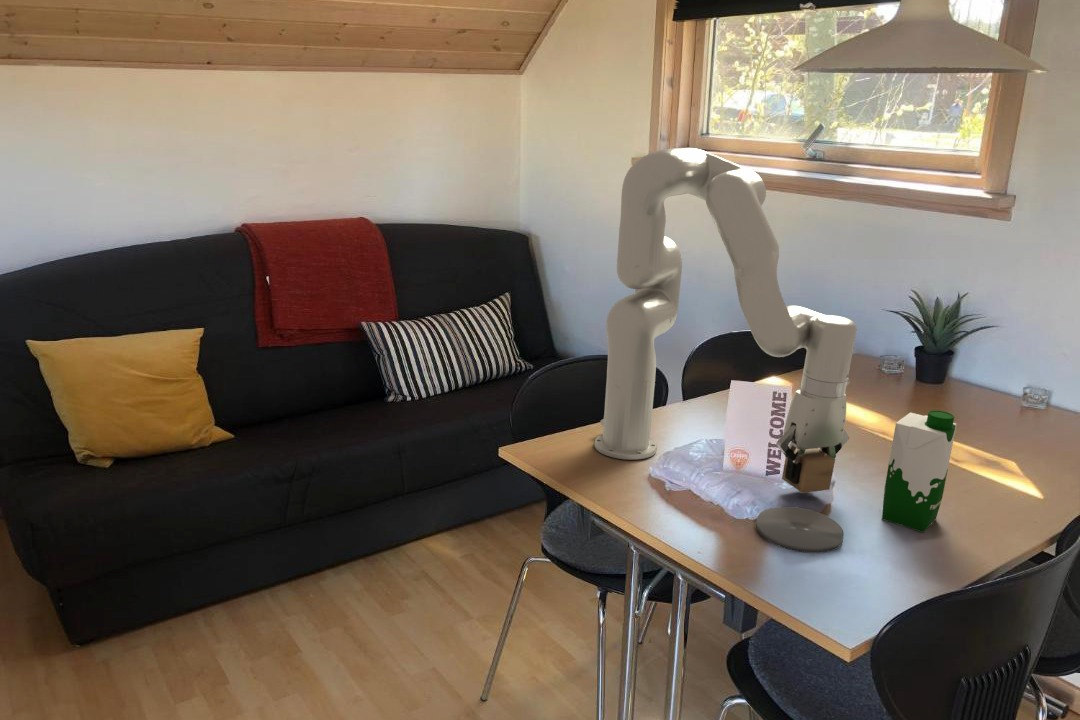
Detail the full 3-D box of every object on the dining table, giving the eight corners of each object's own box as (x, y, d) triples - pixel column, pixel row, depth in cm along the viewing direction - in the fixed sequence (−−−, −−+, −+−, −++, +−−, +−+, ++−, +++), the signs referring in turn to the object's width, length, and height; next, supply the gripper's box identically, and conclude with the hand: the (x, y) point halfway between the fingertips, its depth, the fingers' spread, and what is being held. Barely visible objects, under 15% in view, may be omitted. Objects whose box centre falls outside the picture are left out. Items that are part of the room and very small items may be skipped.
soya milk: (927, 536, 150) (948, 424, 144) (873, 518, 155) (892, 410, 150) (942, 519, 157) (963, 411, 151) (890, 502, 162) (909, 398, 156)
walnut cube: (781, 478, 165) (787, 448, 163) (808, 475, 167) (813, 445, 165) (802, 493, 159) (808, 462, 157) (829, 489, 162) (835, 459, 160)
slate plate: (739, 519, 153) (740, 513, 152) (805, 508, 158) (806, 502, 158) (791, 558, 141) (792, 551, 140) (861, 545, 146) (862, 538, 146)
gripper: (847, 376, 164) (830, 465, 169) (770, 381, 157) (754, 475, 163) (876, 389, 157) (857, 482, 163) (797, 396, 151) (780, 493, 156)
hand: (806, 478), depth 163 cm, fingers closed on walnut cube, 6 cm apart
